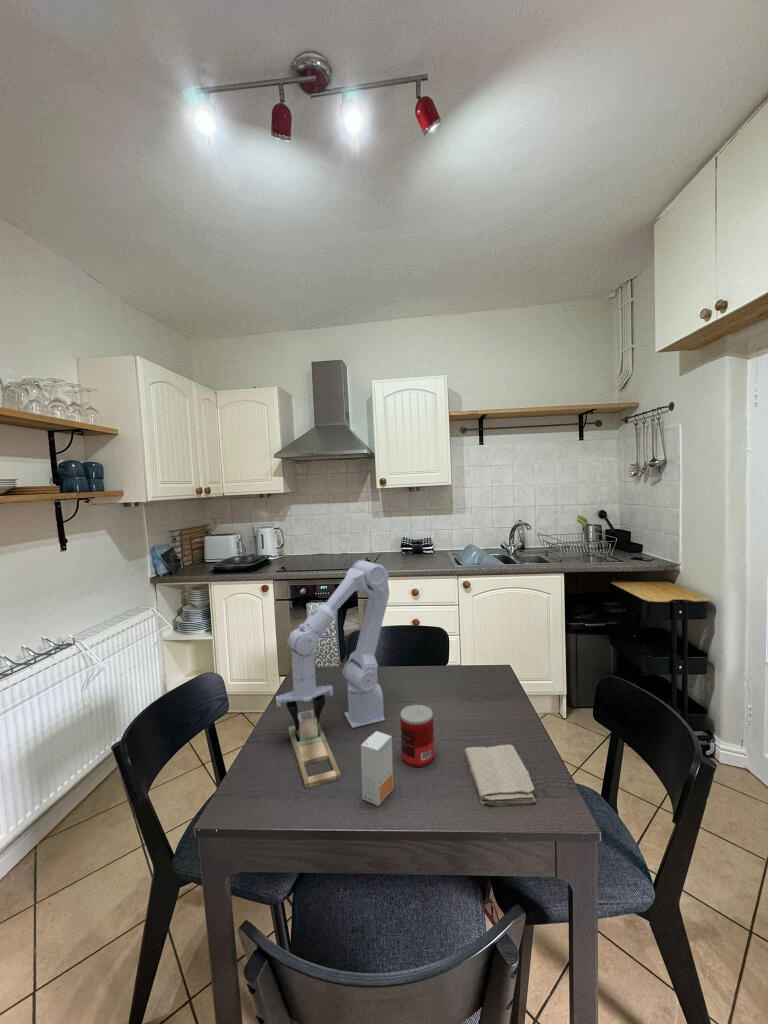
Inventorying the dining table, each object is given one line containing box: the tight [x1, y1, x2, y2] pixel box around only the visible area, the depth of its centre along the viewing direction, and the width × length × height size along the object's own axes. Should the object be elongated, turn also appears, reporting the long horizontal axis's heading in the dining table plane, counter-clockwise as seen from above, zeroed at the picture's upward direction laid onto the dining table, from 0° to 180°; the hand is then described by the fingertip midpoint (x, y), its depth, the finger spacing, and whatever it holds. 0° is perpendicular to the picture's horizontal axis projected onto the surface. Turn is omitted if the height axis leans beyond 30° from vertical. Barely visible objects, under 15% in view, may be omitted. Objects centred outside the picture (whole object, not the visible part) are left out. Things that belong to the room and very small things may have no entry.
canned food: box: [399, 704, 435, 768], centre depth 104 cm, size 8×8×11 cm
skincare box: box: [360, 730, 394, 807], centre depth 92 cm, size 6×4×12 cm
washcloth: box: [463, 744, 536, 806], centre depth 97 cm, size 12×18×3 cm, turn 2°
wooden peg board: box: [288, 722, 342, 789], centre depth 107 cm, size 8×24×1 cm, turn 21°
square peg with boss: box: [296, 709, 319, 742], centre depth 113 cm, size 4×4×6 cm
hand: (306, 726), depth 114 cm, fingers closed on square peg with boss, 4 cm apart
